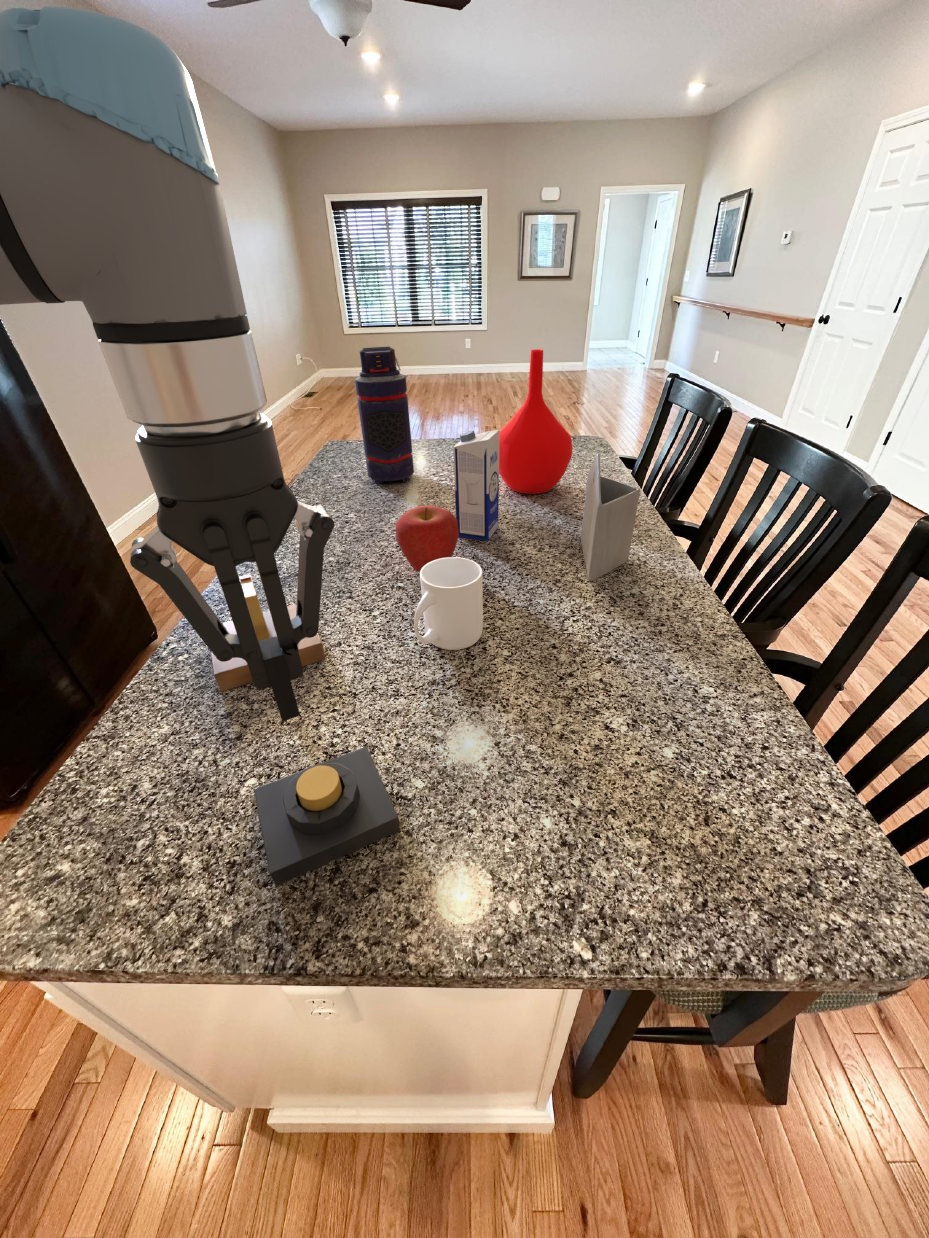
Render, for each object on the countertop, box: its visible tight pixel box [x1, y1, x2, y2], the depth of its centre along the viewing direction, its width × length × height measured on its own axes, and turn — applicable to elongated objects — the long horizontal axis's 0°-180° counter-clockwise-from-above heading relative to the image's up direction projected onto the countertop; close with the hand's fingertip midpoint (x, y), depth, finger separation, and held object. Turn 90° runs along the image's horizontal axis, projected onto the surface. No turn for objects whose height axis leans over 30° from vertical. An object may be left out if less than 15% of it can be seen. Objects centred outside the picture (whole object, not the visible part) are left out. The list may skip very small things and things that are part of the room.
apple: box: [394, 505, 459, 573], centre depth 89 cm, size 11×11×12 cm
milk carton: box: [452, 429, 500, 542], centre depth 99 cm, size 7×7×20 cm
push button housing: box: [253, 746, 401, 887], centre depth 51 cm, size 12×10×4 cm
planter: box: [579, 452, 641, 582], centre depth 89 cm, size 16×8×19 cm, turn 174°
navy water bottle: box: [354, 346, 415, 485], centre depth 126 cm, size 14×12×30 cm
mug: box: [413, 556, 484, 651], centre depth 72 cm, size 9×12×11 cm
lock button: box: [296, 766, 342, 811], centre depth 49 cm, size 4×4×2 cm
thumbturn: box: [239, 573, 270, 641], centre depth 70 cm, size 6×2×8 cm, turn 26°
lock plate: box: [209, 602, 326, 692], centre depth 74 cm, size 14×12×3 cm
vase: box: [499, 348, 573, 495], centre depth 117 cm, size 18×18×30 cm
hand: (288, 708), depth 44 cm, fingers closed
